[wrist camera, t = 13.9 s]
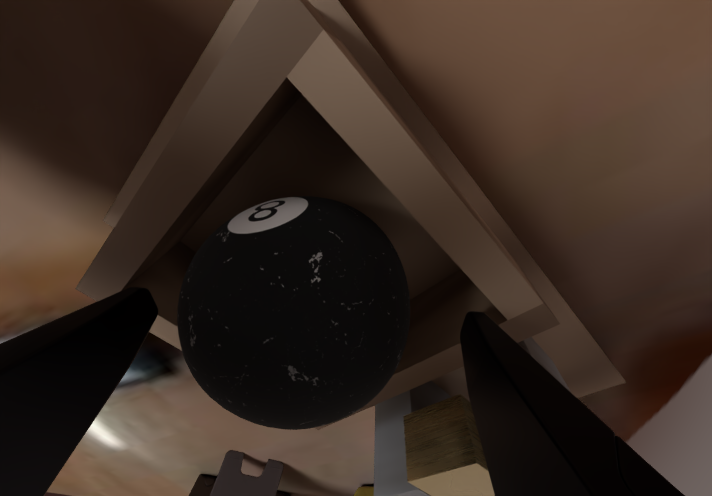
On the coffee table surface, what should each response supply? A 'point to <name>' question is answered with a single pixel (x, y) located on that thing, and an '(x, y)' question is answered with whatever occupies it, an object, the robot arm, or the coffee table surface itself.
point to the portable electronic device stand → (239, 479)
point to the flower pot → (365, 491)
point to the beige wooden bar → (446, 450)
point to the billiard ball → (294, 312)
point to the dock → (341, 183)
